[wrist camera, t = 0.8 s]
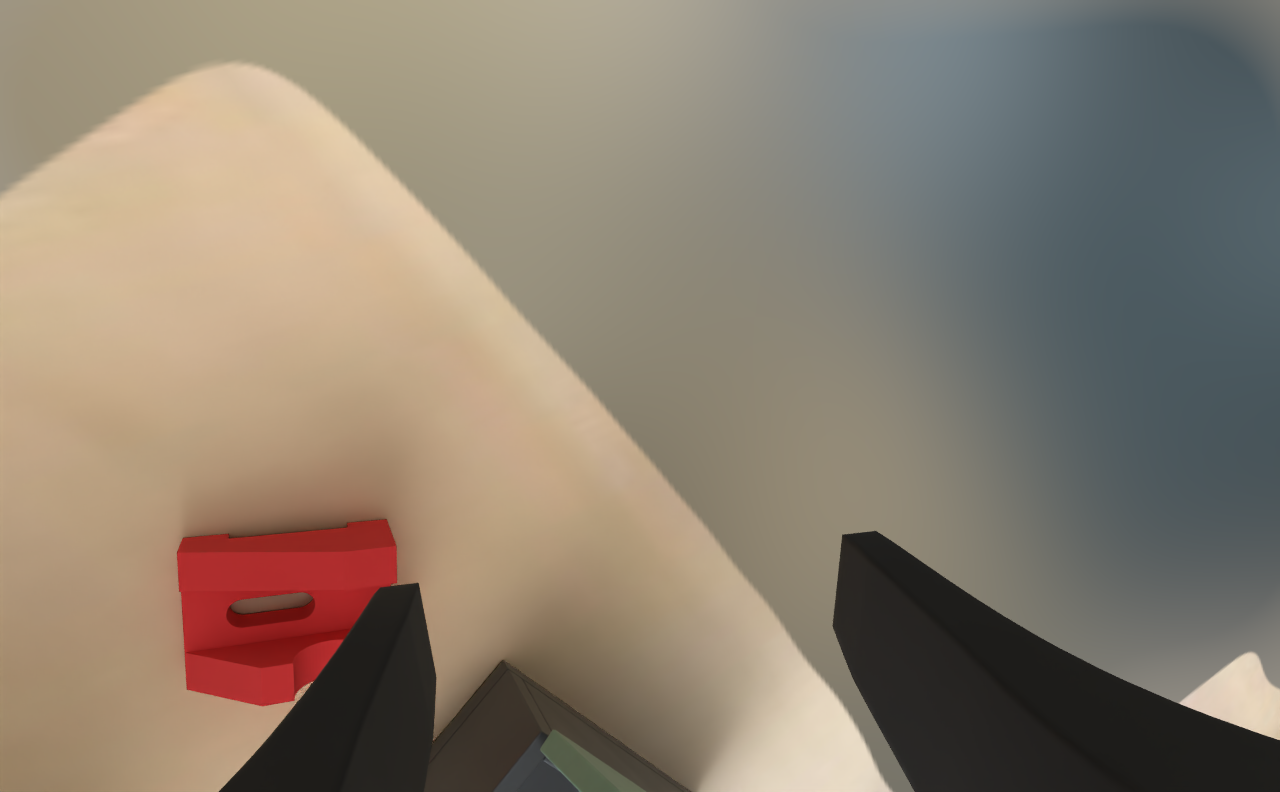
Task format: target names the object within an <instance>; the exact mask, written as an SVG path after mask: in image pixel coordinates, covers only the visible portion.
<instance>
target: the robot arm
mask: <svg viewBox="0 0 1280 792" xmlns="http://www.w3.org/2000/svg"><path fill="white" fill-rule="evenodd" d="M833 628H834V631H835V634H836V636H837V639H838V642H839V644H840V647H841V650H842V652H843V655H844V657H845V660H846V663H847V665H848V667H849V670H850V672H851V675H852V677H853V679H854V681H855V683H856V685H857V687H858V689H859V691H860V693H861V695H862V696H863V698H864V700H865V702H866V704H867V706H868V708H869V710H870V711H871V713H872V715H873V717H874V719H875V721H876V722H877V724H878V726H879V728H880V730H881V731H882V733H883V735H884V737H885V739H886V740H887V742H888V744H889V746H890V748H891V750H892V751H893V753H894V755H895V757H896V759H897V760H898V762H899V764H900V766H901V768H902V769H903V771H904V773H905V775H906V777H907V778H908V780H909V782H910V784H911V786H912V788H913V789H914V791H915V792H1280V740H1277V739H1274V738H1271V737H1268V736H1265V735H1262V734H1259V733H1256V732H1253V731H1250V730H1248V729H1245V728H1242V727H1239V726H1237V725H1234V724H1231V723H1228V722H1225V721H1223V720H1220V719H1217V718H1214V717H1212V716H1209V715H1206V714H1204V713H1201V712H1199V711H1196V710H1193V709H1191V708H1188V707H1186V706H1183V705H1181V704H1178V703H1176V702H1173V701H1171V700H1168V699H1166V698H1164V697H1161V696H1159V695H1157V694H1154V693H1152V692H1150V691H1148V690H1145V689H1143V688H1141V687H1138V686H1136V685H1134V684H1131V683H1129V682H1127V681H1124V680H1123V679H1120V678H1118V677H1116V676H1114V675H1112V674H1109V673H1108V672H1105V671H1103V670H1101V669H1099V668H1097V667H1095V666H1093V665H1091V664H1089V663H1087V662H1085V661H1084V660H1082V659H1080V658H1077V657H1076V656H1074V655H1072V654H1070V653H1068V652H1066V651H1064V650H1062V649H1060V648H1058V647H1056V646H1054V645H1053V644H1051V643H1049V642H1047V641H1045V640H1044V639H1042V638H1040V637H1038V636H1036V635H1035V634H1033V633H1031V632H1030V631H1028V630H1026V629H1025V628H1023V627H1021V626H1020V625H1018V624H1016V623H1015V622H1013V621H1011V620H1009V619H1008V618H1006V617H1004V616H1003V615H1001V614H1000V613H998V612H996V611H995V610H993V609H991V608H990V607H988V606H987V605H985V604H984V603H982V602H980V601H979V600H977V599H976V598H974V597H973V596H971V595H970V594H968V593H967V592H965V591H964V590H962V589H961V588H959V587H958V586H956V585H955V584H953V583H952V582H950V581H949V580H947V579H946V578H944V577H943V576H941V575H940V574H939V573H937V572H936V571H934V570H933V569H931V568H930V567H928V566H927V565H925V564H924V563H922V562H921V561H919V560H918V559H917V558H915V557H914V556H913V555H911V554H910V553H908V552H907V551H905V550H904V549H902V548H901V547H900V546H898V545H897V544H895V543H894V542H892V541H891V540H889V539H888V538H886V537H884V536H883V535H881V534H880V533H878V532H877V531H872V532H863V533H854V534H845V535H842V543H841V553H840V562H839V572H838V581H837V591H836V600H835V609H834V619H833ZM435 695H436V673H435V667H434V662H433V657H432V652H431V646H430V641H429V636H428V630H427V625H426V620H425V614H424V609H423V604H422V599H421V593H420V588H419V583H414V584H405V585H397V586H388V587H380V588H379V589H378V590H377V591H376V592H375V593H374V595H373V596H372V598H371V599H370V601H369V603H368V604H367V606H366V607H365V609H364V610H363V612H362V613H361V615H360V616H359V618H358V619H357V621H356V622H355V624H354V625H353V627H352V628H351V630H350V631H349V633H348V634H347V636H346V637H345V639H344V640H343V642H342V643H341V644H340V646H339V647H338V649H337V650H336V652H335V653H334V654H333V656H332V657H331V658H330V660H329V661H328V663H327V664H326V665H325V667H324V668H323V669H322V671H321V672H320V673H319V675H318V676H317V678H316V679H315V680H314V682H313V683H312V684H311V686H310V687H309V688H308V690H307V691H306V692H305V694H304V695H303V696H302V697H301V699H300V700H299V701H298V702H297V703H296V705H295V706H294V707H293V708H292V710H291V711H290V712H289V713H288V714H287V716H286V717H285V718H284V719H283V721H282V722H281V723H280V724H279V726H278V727H277V728H276V729H275V730H274V732H273V733H272V734H271V735H270V736H269V738H268V739H267V740H266V741H265V742H264V743H263V744H262V746H261V747H260V748H259V749H258V750H257V751H256V752H255V754H254V755H253V756H252V757H251V758H250V759H249V760H248V761H247V762H246V763H245V765H244V766H243V767H242V768H241V769H240V770H239V771H238V772H237V773H236V774H235V775H234V776H233V777H232V778H231V779H230V780H229V781H228V783H227V784H226V785H225V786H224V787H223V788H222V789H221V790H220V791H219V792H424V788H425V782H426V776H427V770H428V764H429V758H430V753H431V746H432V740H433V730H434V714H435Z"/></svg>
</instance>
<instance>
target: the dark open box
mask: <svg viewBox="0 0 1280 792" xmlns="http://www.w3.org/2000/svg"><path fill="white" fill-rule="evenodd" d="M552 730H556V731H558V732H559V733H561V734H562V735H564V736H565V737H567V738H568V739H570V740H571V741H573V742H574V743H576V744H577V745H579V746H580V747H581V748H583V749H584V750H586V751H587V752H589V753H590V754H592V755H593V756H595V757H596V758H598V759H599V760H601V761H602V762H604V763H605V764H607V765H608V766H609V767H611V768H612V769H614V770H615V771H617V772H618V773H620V774H621V775H623V776H624V777H626V778H627V779H629V780H630V781H632V782H633V783H635V784H636V785H637V786H639V787H640V788H642V789H643V790H645V791H646V792H690V791H689V790H688V789H686V788H685V787H683V786H682V785H680V784H679V783H678V782H676V781H675V780H673V779H672V778H671V777H669V776H668V775H666V774H665V773H663V772H662V771H661V770H659V769H658V768H656V767H655V766H653V765H652V764H651V763H649V762H648V761H646V760H645V759H644V758H642V757H641V756H639V755H638V754H636V753H635V752H634V751H632V750H631V749H629V748H628V747H627V746H625V745H624V744H622V743H621V742H619V741H618V740H617V739H615V738H614V737H612V736H611V735H609V734H608V733H607V732H605V731H604V730H602V729H601V728H600V727H598V726H597V725H595V724H594V723H592V722H591V721H590V720H588V719H587V718H585V717H584V716H583V715H581V714H580V713H578V712H577V711H575V710H574V709H573V708H571V707H570V706H568V705H567V704H565V703H564V702H563V701H561V700H560V699H558V698H557V697H556V696H554V695H553V694H551V693H550V692H548V691H547V690H546V689H544V688H543V687H541V686H540V685H538V684H537V683H536V682H534V681H533V680H531V679H530V678H529V677H527V676H526V675H524V674H523V673H521V672H520V671H519V670H517V669H516V668H514V667H513V666H512V665H510V664H509V663H507V662H506V661H504V660H503V661H502V662H501V663H500V664H499V665H498V667H497V668H496V669H495V670H494V671H493V673H492V674H491V675H490V676H489V677H488V678H487V680H486V681H485V682H484V683H483V684H482V686H481V687H480V688H479V689H478V690H477V692H476V693H475V694H474V695H473V696H472V698H471V699H470V700H469V701H468V702H467V704H466V705H465V706H464V707H463V708H462V710H461V711H460V712H459V713H458V714H457V716H456V717H455V718H454V719H453V720H452V722H451V723H450V724H449V725H448V726H447V728H446V729H445V730H444V731H443V732H442V734H441V735H440V736H439V737H438V738H437V740H436V741H435V742H434V743H433V744H432V746H431V753H430V758H429V764H428V770H427V776H426V782H425V788H424V792H580V791H579V790H578V789H577V788H576V787H575V786H574V785H573V784H572V783H571V782H570V781H569V780H568V779H567V778H566V777H565V776H564V775H563V774H562V773H561V772H560V771H559V770H558V769H557V768H556V767H555V766H554V764H553V763H552V762H551V761H550V760H549V759H548V758H547V757H546V756H545V755H544V754H543V753H542V752H541V750H540V748H541V747H542V745H543V744H544V742H545V741H546V739H547V738H548V736H549V735H550V733H551V732H552Z"/></svg>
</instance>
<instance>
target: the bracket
mask: <svg viewBox="0 0 1280 792" xmlns="http://www.w3.org/2000/svg"><path fill="white" fill-rule="evenodd" d="M177 561H178V578H179V592H181V598H182V615H183V632H184V649H185V667H186V684H187V690H191V691H196V692H200V693H205V694H209V695H214V696H219V697H223V698H228V699H232V700H237V701H241V702H246V703H250V704H255V705H259V706H266V705H272V704H278V703H283V702H289V701H295V700H294V698H295V695H296V693H297V692H298V690H299V689H301V688H302V687H303V686H305V685H306V684H308V683H310V682H312V681H314V680H315V679H316V678H317V676H318V675H319V673H320V672H321V671H322V669H323V668H324V667H325V665H326V664H327V663H328V661H329V660H330V658H331V657H332V656H333V654H334V653H335V652H336V650H337V649H338V647H339V646H340V644H341V643H342V642H343V640H344V639H345V637H346V636H347V634H348V633H349V631H350V630H351V628H352V627H353V625H354V624H355V622H356V621H357V619H358V618H359V616H360V615H361V613H362V612H363V610H364V609H365V607H366V606H367V604H368V603H369V601H370V599H371V598H372V596H373V595H374V593H375V592H376V591H377V590H378V589H379V588H380V587H388V586H391V584H394V583H397V547H396V544H395V541H394V538H393V535H392V533H391V530H390V527H389V525H388V522H387V519H384V520H373V521H362V522H351V523H347V528H337V529H326V530H315V531H305V532H294V533H284V534H273V535H262V536H252V537H241V538H231V539H229V534H220V535H209V536H199V537H188V538H183V539H182V542H181V544H180V547H179V549H178V551H177ZM298 592H304V593H308V594H310V595H311V596H312V597H313V599H312V601H311V602H310V603H309V604H307V605H306V606H303V607H299V608H291V609H284V610H276V611H268V612H261V613H253V614H246V615H240V614H237V613H235V612H233V611H232V610H231V609H230V605H231V604H233V603H234V602H236V601H238V600H242V599H250V598H258V597H266V596H274V595H282V594H290V593H298Z"/></svg>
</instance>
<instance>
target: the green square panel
mask: <svg viewBox="0 0 1280 792" xmlns="http://www.w3.org/2000/svg"><path fill="white" fill-rule="evenodd" d="M540 750H541V752H542V753H543V754H544V755H545V756H546V757H547V758H548V759H549V760H550V761H551V762H552V763H553V764H554V766H555V767H556V768H557V769H558V770H559V771H560V772H561V773H562V774H563V775H564V776H565V777H566V778H567V779H568V780H569V781H570V782H571V783H572V784H573V785H574V786H575V787H576V788H577V789H578V790H579V791H580V792H646V791H645V790H643V789H642V788H640V787H639V786H637V785H636V784H635V783H633V782H632V781H630V780H629V779H627V778H626V777H624V776H623V775H621V774H620V773H618V772H617V771H615V770H614V769H612V768H611V767H609V766H608V765H607V764H605V763H604V762H602V761H601V760H599V759H598V758H596V757H595V756H593V755H592V754H590V753H589V752H587V751H586V750H584V749H583V748H581V747H580V746H579V745H577V744H576V743H574V742H573V741H571V740H570V739H568V738H567V737H565V736H564V735H562V734H561V733H559V732H558V731H556V730H552V732H551V733H550V735H549V736H548V738H547V739H546V741H545V742H544V744H543V745H542V747H541V748H540Z"/></svg>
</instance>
